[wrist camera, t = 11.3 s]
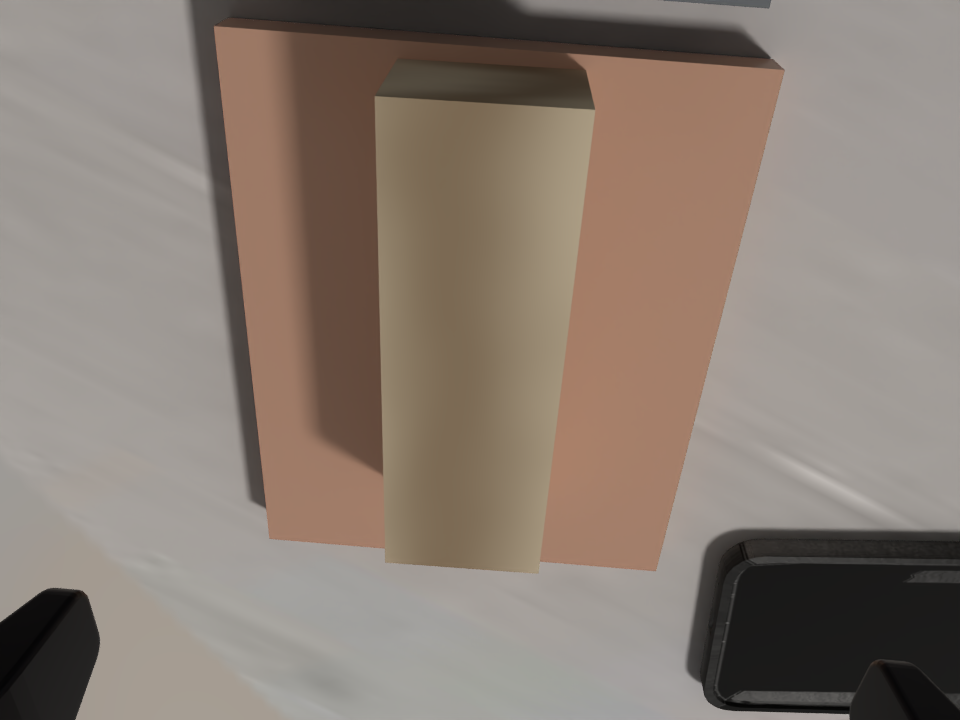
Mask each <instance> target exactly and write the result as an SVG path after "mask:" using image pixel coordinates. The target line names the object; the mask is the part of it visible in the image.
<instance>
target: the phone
mask: <svg viewBox="0 0 960 720" xmlns="http://www.w3.org/2000/svg"><path fill="white" fill-rule="evenodd" d="M718 582H719V586H718ZM878 659H883V660H895V661H905V662H909V663H912V664H914V665H915V666H917V667H918V668H919V669H920V670H921V671H922V672H923V673H924V674H925V675H926V676H927V677H928V678H929V679H930V680H931V681H932V682H933V683H934V684H935V685H936V686H937V687H938V688H939V689H940V690H941V691H942V692H943V693H944V694H945V695H946V696H947V697H948V698H949V699H950V700H951V701H952V702H953V703H954V704H955V705H956V706H957V707H958V708H959V709H960V542H948V541H875V540H802V539H756V540H748V541H745V542H742V543H739V544H737V545H735V546H734V547H732V548H731V549H729V550H728V551H727V552H726V553H725V554H724V555H723V557H722V559H721V561H720V564H719V569H718V574H717V580H716V586H715V591H714V597H713V603H712V608H711V614H710V620H709V625H708V631H707V637H706V642H705V648H704V654H703V659H702V665H701V671H700V674H701V681H702V686H703V691H704V696H705V698H706V699H707V701H708V702H709V703H710V704H712V705H713V706H715V707H717V708H720V709H723V710H731V711H757V712H794V713H830V714H849V713H850V705H851V701H852V699H853V697H854V695H855V693H856V691H857V689H858V687H859V685H860V683H861V681H862V679H863V677H864V675H865V673H866V671H867V669H868V667H869V666H870V664H871V663H872V662H874V661H875V660H878Z"/></svg>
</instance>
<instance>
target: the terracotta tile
mask: <svg viewBox="0 0 960 720" xmlns="http://www.w3.org/2000/svg"><path fill="white" fill-rule="evenodd" d="M214 34H215V43H216V52H217V61H218V70H219V79H220V89H221V98H222V107H223V116H224V125H225V135H226V144H227V153H228V162H229V171H230V180H231V190H232V199H233V208H234V217H235V226H236V235H237V245H238V254H239V263H240V272H241V281H242V290H243V300H244V309H245V318H246V327H247V336H248V345H249V355H250V364H251V373H252V382H253V391H254V400H255V410H256V419H257V428H258V437H259V446H260V455H261V465H262V474H263V483H264V492H265V501H266V510H267V520H268V529H269V538H270V539H278V540H290V541H302V542H314V543H326V544H338V545H349V546H361V547H373V548H385V525H384V481H383V438H382V395H381V351H380V308H379V264H378V221H377V178H376V134H375V95H376V93H377V91H378V90H379V88H380V86H381V85H382V83H383V82H384V80H385V78H386V77H387V75H388V73H389V72H390V70H391V68H392V67H393V65H394V63H395V62H396V60H397V58H398V59H415V60H431V61H447V62H464V63H480V64H496V65H512V66H529V67H545V68H561V69H578V70H586V72H587V76H588V81H589V85H590V89H591V93H592V98H593V102H594V106H595V117H594V125H593V133H592V142H591V150H590V158H589V166H588V174H587V182H586V190H585V198H584V207H583V215H582V223H581V231H580V239H579V247H578V255H577V263H576V272H575V280H574V288H573V296H572V304H571V312H570V320H569V328H568V337H567V345H566V353H565V361H564V369H563V377H562V385H561V393H560V402H559V410H558V418H557V426H556V434H555V442H554V450H553V458H552V467H551V475H550V483H549V491H548V499H547V507H546V515H545V523H544V532H543V540H542V548H541V556H540V562H552V563H564V564H576V565H588V566H600V567H612V568H624V569H636V570H648V571H656V569H657V565H658V561H659V557H660V553H661V549H662V545H663V541H664V538H665V534H666V530H667V526H668V522H669V518H670V514H671V510H672V506H673V503H674V499H675V495H676V491H677V487H678V483H679V479H680V475H681V471H682V468H683V464H684V460H685V456H686V452H687V448H688V444H689V440H690V436H691V433H692V429H693V425H694V421H695V417H696V413H697V409H698V405H699V401H700V398H701V394H702V390H703V386H704V382H705V378H706V374H707V370H708V366H709V363H710V359H711V355H712V351H713V347H714V343H715V339H716V335H717V331H718V328H719V324H720V320H721V316H722V312H723V308H724V304H725V300H726V296H727V293H728V289H729V285H730V281H731V277H732V273H733V269H734V265H735V261H736V258H737V254H738V250H739V246H740V242H741V238H742V234H743V230H744V226H745V223H746V219H747V215H748V211H749V207H750V203H751V199H752V195H753V191H754V188H755V184H756V180H757V176H758V172H759V168H760V164H761V160H762V156H763V153H764V149H765V145H766V141H767V137H768V133H769V129H770V125H771V121H772V118H773V114H774V110H775V106H776V102H777V98H778V94H779V90H780V86H781V83H782V79H783V75H784V71H785V70H784V69H783V68H782V67H781V66H780V65H779V64H778V63H776V62H775V61H774V60H773V59H765V58H752V57H739V56H726V55H712V54H699V53H686V52H673V51H660V50H647V49H634V48H621V47H608V46H595V45H582V44H569V43H556V42H543V41H530V40H517V39H504V38H491V37H478V36H465V35H452V34H439V33H426V32H413V31H400V30H386V29H373V28H360V27H347V26H334V25H321V24H308V23H295V22H282V21H269V20H256V19H243V18H230V17H228V18H227V19H225V20H223V21H222V22H220V23H218V24H217V25H215V26H214Z"/></svg>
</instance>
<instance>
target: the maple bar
mask: <svg viewBox="0 0 960 720" xmlns="http://www.w3.org/2000/svg"><path fill="white" fill-rule="evenodd" d="M594 117H595V106H594V102H593V98H592V93H591V89H590V85H589V81H588V76H587V72H586V70H578V69H561V68H545V67H529V66H512V65H496V64H480V63H464V62H447V61H431V60H415V59H398V58H397V60H396V62H395V63H394V65H393V67H392V68H391V70H390V72H389V73H388V75H387V77H386V78H385V80H384V82H383V83H382V85H381V86H380V88H379V90H378V91H377V93H376V95H375V134H376V178H377V221H378V264H379V308H380V351H381V395H382V438H383V481H384V525H385V562H386V563H400V564H413V565H427V566H441V567H454V568H468V569H482V570H495V571H509V572H523V573H536V574H538V572H539V564H540V556H541V548H542V540H543V532H544V523H545V515H546V507H547V499H548V491H549V483H550V475H551V467H552V458H553V450H554V442H555V434H556V426H557V418H558V410H559V402H560V393H561V385H562V377H563V369H564V361H565V353H566V345H567V337H568V328H569V320H570V312H571V304H572V296H573V288H574V280H575V272H576V263H577V255H578V247H579V239H580V231H581V223H582V215H583V207H584V198H585V190H586V182H587V174H588V166H589V158H590V150H591V142H592V133H593V125H594Z"/></svg>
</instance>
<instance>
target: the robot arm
mask: <svg viewBox="0 0 960 720" xmlns="http://www.w3.org/2000/svg"><path fill="white" fill-rule="evenodd" d="M99 646H100V637H99V632H98V629H97V625H96V622H95V619H94V616H93V612H92V608H91V605H90V602H89V599H88V596H87V595H86V594H85V593H84V592H83V591H81V590H74V589H73V590H72V589H61V588H50V589H46V590H44V591H42V592H41V593H39V594H38V595H37V596H35V597H34V598H32V599H31V600H30V601H28V602H27V603H26V604H24V605H23V606H22V607H20V608H19V609H18V610H16V611H15V612H14V613H12V614H11V615H9V616H8V617H7V618H6V619H4V620H3V621H1V622H0V720H75V719H76V716H77V713H78V711H79V708H80V705H81V702H82V699H83V696H84V694H85V691H86V688H87V685H88V682H89V679H90V677H91V674H92V671H93V668H94V665H95V662H96V660H97V656H98V652H99ZM849 716H850V720H960V709H959V708H958V707H957V706H956V705H955V704H954V703H953V702H952V701H951V700H950V699H949V698H948V697H947V696H946V695H945V694H944V693H943V692H942V691H941V690H940V689H939V688H938V687H937V686H936V685H935V684H934V683H933V682H932V681H931V680H930V679H929V678H928V677H927V676H926V675H925V674H924V673H923V672H922V671H921V670H920V669H919V668H918V667H917V666H915V665H914V664H912V663H909V662H905V661H895V660H883V659H878V660H875V661H874V662H872V663H871V664H870V666H869V667H868V669H867V671H866V673H865V675H864V677H863V679H862V681H861V683H860V685H859V687H858V689H857V691H856V693H855V695H854V697H853V699H852V701H851V705H850V713H849Z"/></svg>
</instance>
